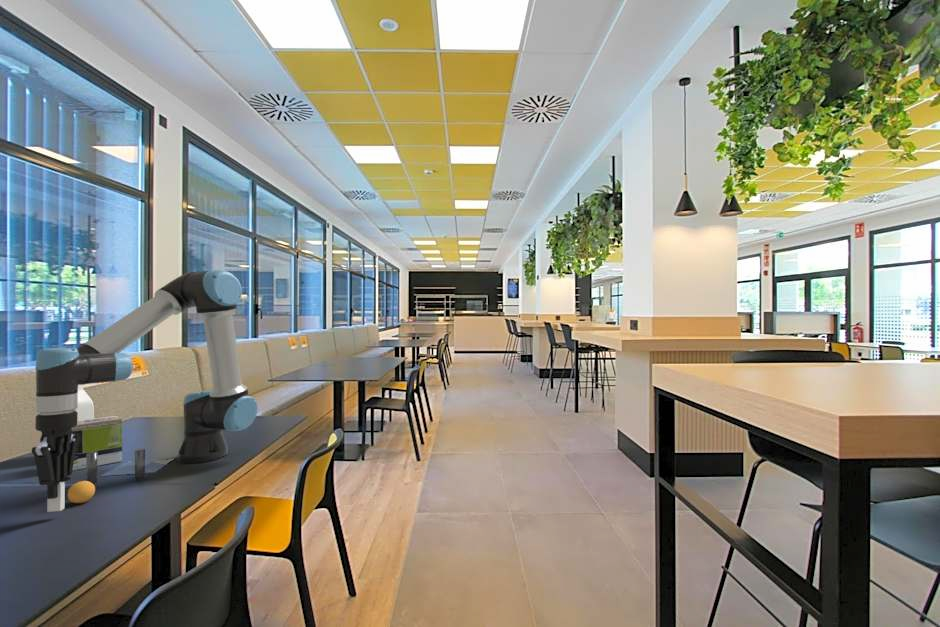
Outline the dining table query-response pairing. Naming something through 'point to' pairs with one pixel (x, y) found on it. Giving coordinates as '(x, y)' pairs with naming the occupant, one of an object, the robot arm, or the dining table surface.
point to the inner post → (139, 464)
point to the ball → (81, 492)
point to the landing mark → (133, 469)
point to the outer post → (92, 467)
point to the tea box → (98, 440)
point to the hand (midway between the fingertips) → (55, 510)
